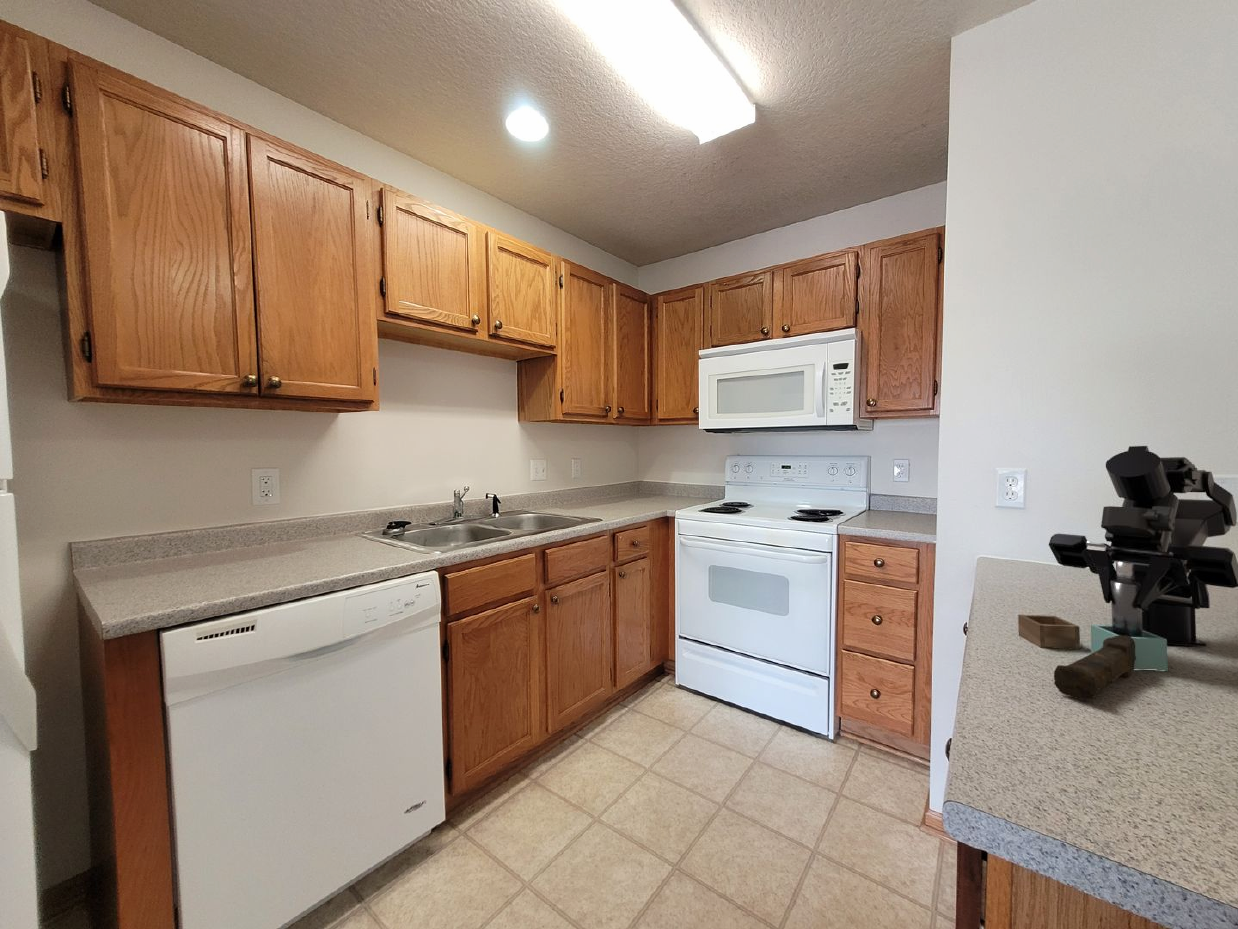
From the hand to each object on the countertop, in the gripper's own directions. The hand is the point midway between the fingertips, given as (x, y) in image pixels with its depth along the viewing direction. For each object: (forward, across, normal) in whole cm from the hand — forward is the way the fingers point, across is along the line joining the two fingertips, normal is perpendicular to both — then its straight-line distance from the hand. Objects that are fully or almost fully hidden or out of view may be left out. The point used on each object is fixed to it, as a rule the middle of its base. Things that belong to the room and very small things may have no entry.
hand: (1122, 604), depth 68 cm
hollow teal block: (+5, 0, +7) cm, 9 cm away
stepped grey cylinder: (+4, 0, +6) cm, 7 cm away
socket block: (+5, -9, +8) cm, 13 cm away
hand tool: (+13, 0, -1) cm, 13 cm away
